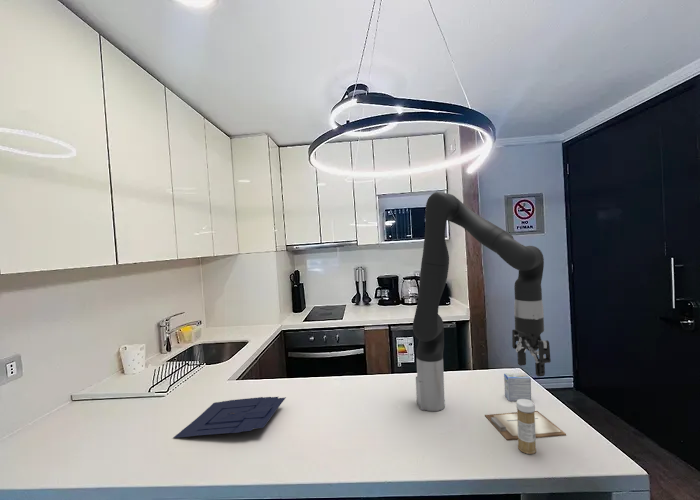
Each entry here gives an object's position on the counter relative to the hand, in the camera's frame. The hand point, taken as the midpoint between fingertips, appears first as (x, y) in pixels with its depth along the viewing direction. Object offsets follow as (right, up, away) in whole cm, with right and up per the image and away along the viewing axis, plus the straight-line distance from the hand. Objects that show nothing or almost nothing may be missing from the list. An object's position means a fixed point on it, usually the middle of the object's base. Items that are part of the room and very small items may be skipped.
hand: (530, 370), depth 100 cm
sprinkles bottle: (-4, -21, -5) cm, 21 cm away
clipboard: (+2, -20, +7) cm, 21 cm away
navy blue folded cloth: (-92, -24, +18) cm, 97 cm away
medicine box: (+8, -19, +25) cm, 33 cm away
